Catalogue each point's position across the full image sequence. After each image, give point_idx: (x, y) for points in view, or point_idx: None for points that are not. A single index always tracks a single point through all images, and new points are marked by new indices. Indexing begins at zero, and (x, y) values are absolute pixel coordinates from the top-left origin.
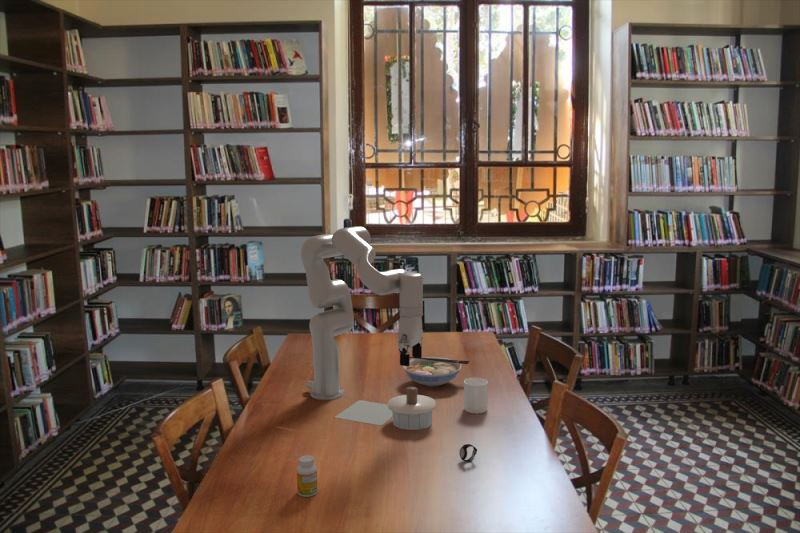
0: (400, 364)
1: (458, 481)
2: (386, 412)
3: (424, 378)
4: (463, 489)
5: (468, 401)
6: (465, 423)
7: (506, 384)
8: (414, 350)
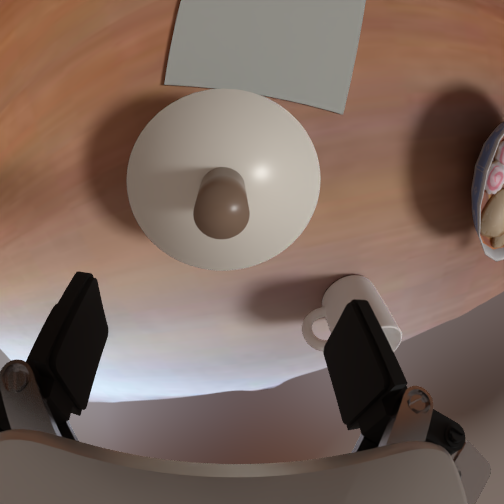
0: (76, 277)
1: (30, 317)
2: (284, 65)
3: (479, 174)
4: (21, 324)
5: (334, 308)
6: (258, 295)
7: (460, 307)
8: (359, 362)
